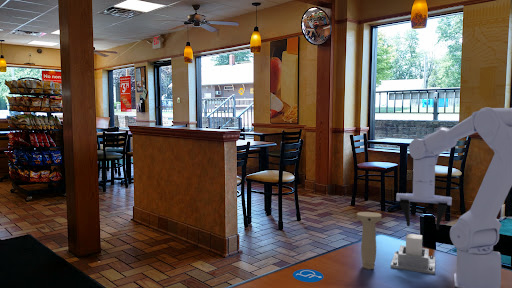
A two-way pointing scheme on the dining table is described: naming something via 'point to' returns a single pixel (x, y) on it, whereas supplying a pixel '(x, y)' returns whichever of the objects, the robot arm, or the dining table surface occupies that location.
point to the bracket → (414, 261)
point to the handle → (368, 238)
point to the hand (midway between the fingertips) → (422, 227)
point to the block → (414, 244)
